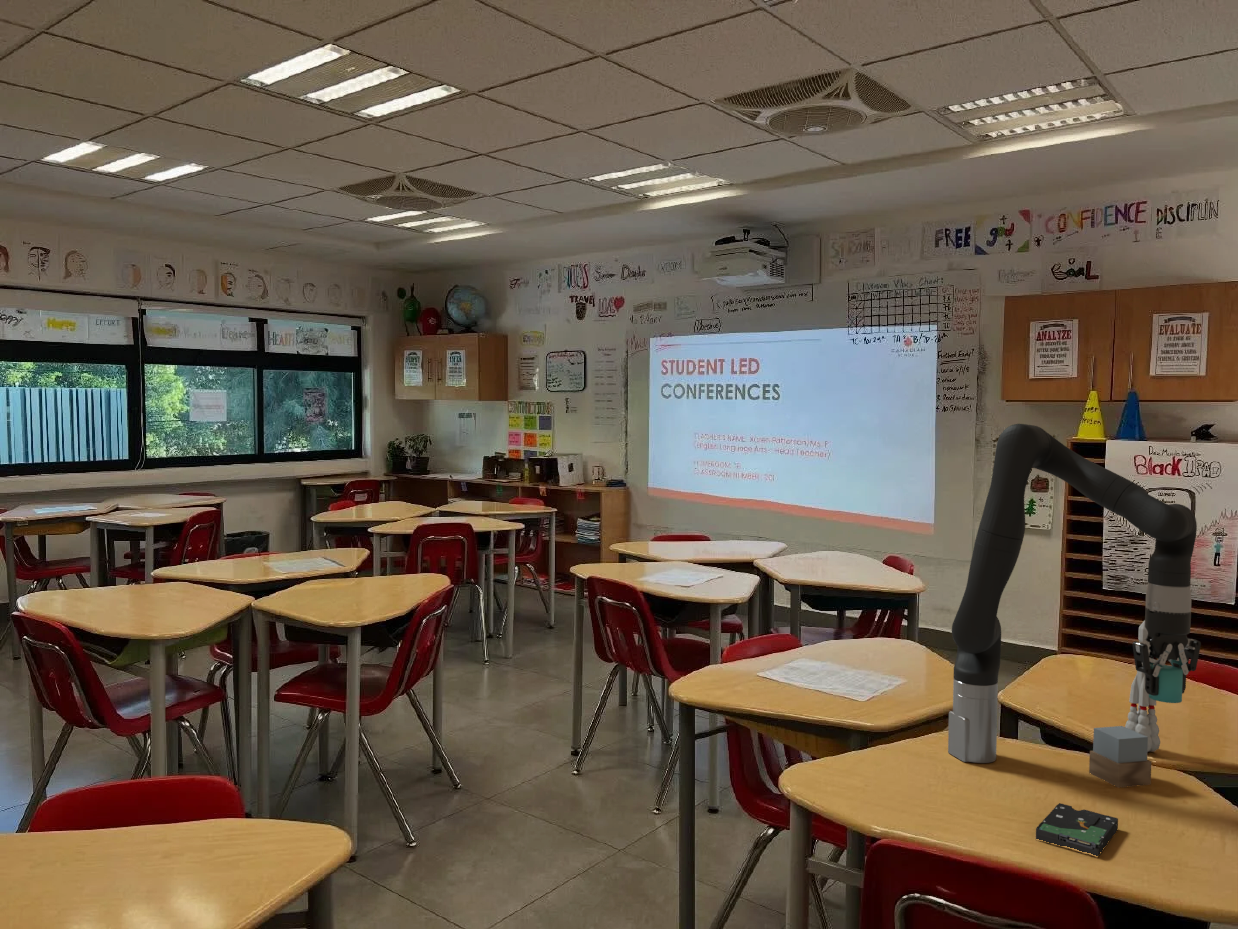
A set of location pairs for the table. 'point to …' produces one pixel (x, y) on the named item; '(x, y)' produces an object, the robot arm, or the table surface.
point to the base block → (1120, 771)
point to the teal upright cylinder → (1169, 685)
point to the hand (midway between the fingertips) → (1165, 693)
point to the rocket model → (1143, 706)
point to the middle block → (1120, 744)
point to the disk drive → (1077, 829)
